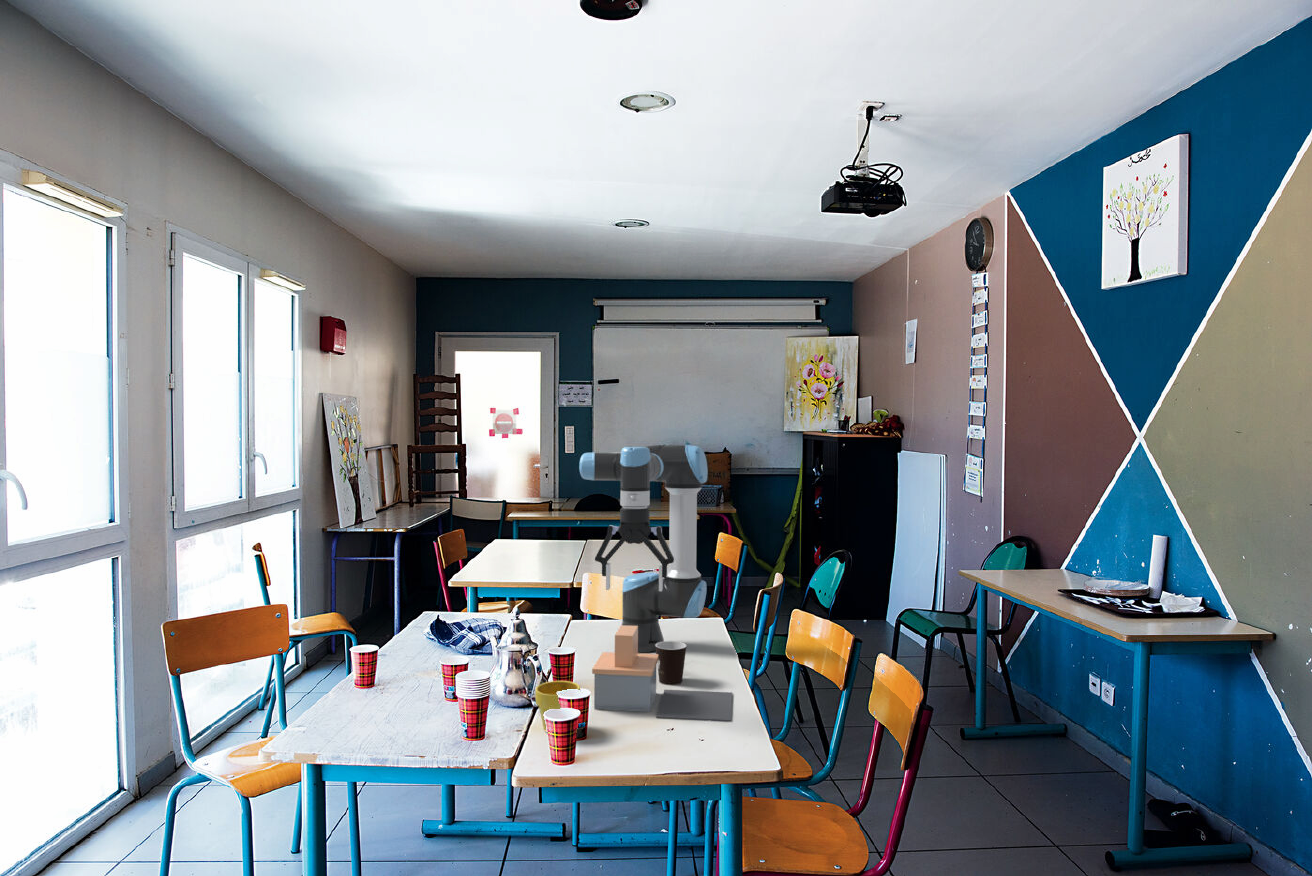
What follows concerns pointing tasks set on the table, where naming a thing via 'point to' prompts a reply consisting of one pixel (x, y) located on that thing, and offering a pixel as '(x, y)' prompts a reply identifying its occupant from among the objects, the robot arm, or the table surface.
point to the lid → (626, 656)
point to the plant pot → (551, 695)
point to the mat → (695, 705)
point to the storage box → (624, 692)
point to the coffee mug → (670, 661)
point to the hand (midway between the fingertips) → (634, 589)
